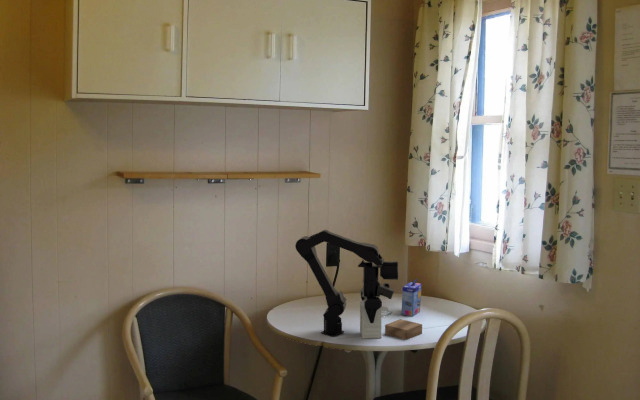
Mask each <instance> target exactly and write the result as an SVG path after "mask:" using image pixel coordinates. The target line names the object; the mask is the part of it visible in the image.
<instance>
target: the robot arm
mask: <svg viewBox="0 0 640 400" xmlns="http://www.w3.org/2000/svg"><path fill="white" fill-rule="evenodd" d="M322 243H327V244H330V245H333V246H336V247H338V248H341V249H344V250H346V251H349V252H351V253H353V254H355V255H356V256H358V257H359V258H361V259H362V260H361V262H360V263H358V265H357V268H363V269H362V270H363V271H362V272H363V274H362V275H363V276H362V277H363V278H362V288H361V289H359V293H360V294H359V295H360V300H361V301H364V307H365V310H366V313H367V315H368V318H369V321H370V323H374V319H375V315H376V311H377V310H378V309H379V308H381V309H382V307H383V305H382V304H383V301H382V299H381V298H380V297H381V296H382V297H384V298H387V299H388V300H392V298H393V295H394V293H395V290H394V288H392V287H390V284H389V283H388V282H384V283H383V284H381V283H380V281H379V276H380V278H382V279H383V280H389V281H391V280H395V281H396V280H397V281H398V280H399V279H400V278H399V275H400V269H399V261H398V260H397V261H396V260H394V261H389V260H388V261H385V259H384V258H383V256H382V255H381V254H380V249H379V247H378V246H377V245H375V244H372V243H368V242H359V241H355V240H353V239H351V238H348V237H344V236H342V235H339V234H337V233H334V232H332V231H329V230H328V229H323V230H320V231H318V232H317V233H314V234H311V235H310V236H309V235H304V236H302V237H300V238H299V239H298V240H297V241H296V243H295V246H294V247H295V250H296V252H297V253H298V254H299V256H301V257H302V259H303V260H304V261H306V263H307V264H308V265H309V268H310V269H311V272H312V273H313V275H314V277H315V279H316V281H317V282H318V284H319V286H320V288H321V289H322V292H323V294H324V295H325V296H324V297H325V301H326V305H327V308H326V309H325V312H323V330H322V331H320V333H321V334H322V333H323V335H326V334H327V335H326V336H329V335H330V337H336V336H339V335H343V334H345V331H344V330H343V322H342V317H341V316H342V315H343V313H344V311H345V310H346V307H347V298H346V297H345V296H344V293H343V290H340V291H338V290H337V289H336V288H335V287H334V285H333V283H332V281H331V280H330V278H329V275H328V274H327V271H325V268H324V266H323V265H322V263H321V261H320V259H319V257H318V253H317V249H316V246H317V245H320V244H322Z"/></svg>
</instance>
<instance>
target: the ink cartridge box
mask: <svg viewBox="0 0 640 400" xmlns="http://www.w3.org/2000/svg"><path fill="white" fill-rule="evenodd" d="M417 280H418V279H417V278H416V279H415V280H414V281H413V282H411V281H410V282H408V283H407V284H405V285H403V286H402V291H401V292H402V296H401V315H403V316H406V317H407V316H408V317H412V318H413V317H414V316H416V315H417V314H418V313H420V312H421V306H422V305H421V301H422V283H419V282H417Z"/></svg>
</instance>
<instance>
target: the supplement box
mask: <svg viewBox="0 0 640 400" xmlns="http://www.w3.org/2000/svg"><path fill="white" fill-rule="evenodd" d="M359 332H360V336H361V338H362V339H381V338H382V307H381V308H379V309H378V310H377V311H376V315H375V319H374V323H370V321H369V318H368V315H367V313H366V310H365V307H364V301H362V300H359Z"/></svg>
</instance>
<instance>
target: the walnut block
mask: <svg viewBox="0 0 640 400" xmlns="http://www.w3.org/2000/svg"><path fill="white" fill-rule="evenodd" d="M384 327H385V328H384V335H387V336H389V337H394V338H398V339H401V340H402V339H403V340H406V341H407V340H411V339H413V338H415V337H417V336H420V335H422V334H423V324H422V323H419V322H413V321H411V320H406V319H402V318H399V319H398V320H395V321H392V322H389V323H387V324H384ZM410 338H411V339H410Z"/></svg>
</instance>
